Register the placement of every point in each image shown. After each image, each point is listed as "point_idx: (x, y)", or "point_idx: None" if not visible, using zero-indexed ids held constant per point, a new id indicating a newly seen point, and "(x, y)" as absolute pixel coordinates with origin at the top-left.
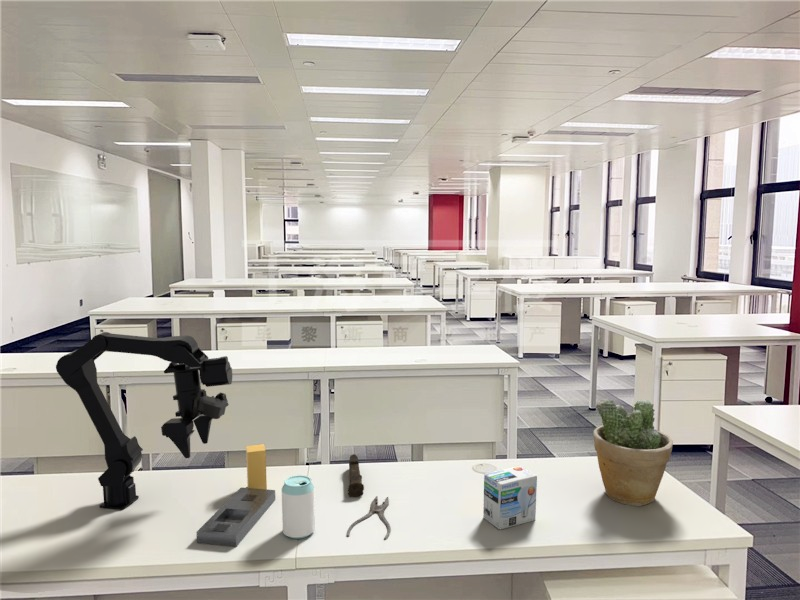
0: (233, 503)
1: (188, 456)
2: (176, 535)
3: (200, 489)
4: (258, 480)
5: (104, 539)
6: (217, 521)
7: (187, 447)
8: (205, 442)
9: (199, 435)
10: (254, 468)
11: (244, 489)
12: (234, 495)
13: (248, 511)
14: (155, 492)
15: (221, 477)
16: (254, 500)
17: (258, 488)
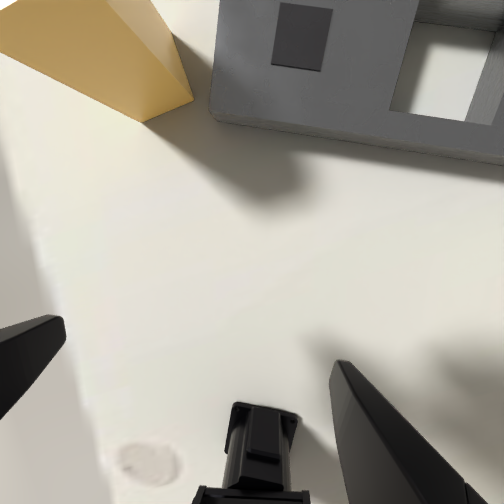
0: (348, 94)
1: (355, 374)
2: (459, 246)
3: (174, 269)
4: (161, 34)
5: (445, 405)
6: (496, 110)
7: (443, 468)
8: (56, 328)
9: (3, 415)
10: (136, 10)
11: (226, 87)
12: (278, 114)
13: (416, 4)
14: (201, 374)
15: (90, 232)
16: (326, 4)
17: (175, 55)
